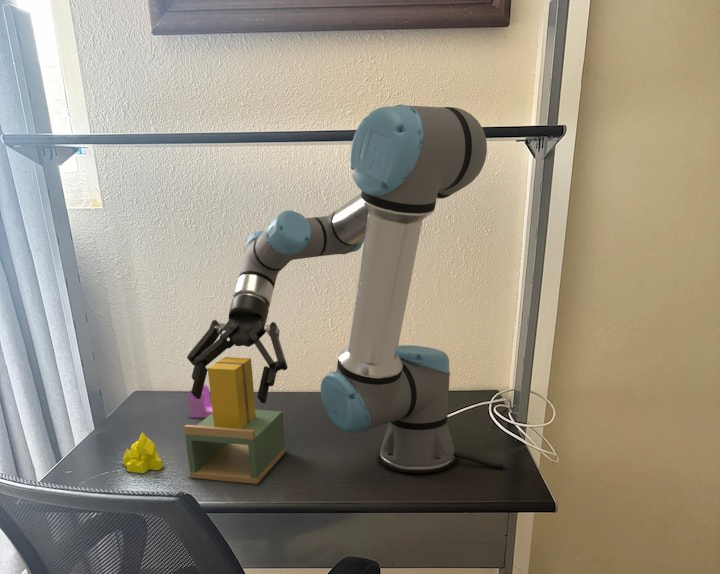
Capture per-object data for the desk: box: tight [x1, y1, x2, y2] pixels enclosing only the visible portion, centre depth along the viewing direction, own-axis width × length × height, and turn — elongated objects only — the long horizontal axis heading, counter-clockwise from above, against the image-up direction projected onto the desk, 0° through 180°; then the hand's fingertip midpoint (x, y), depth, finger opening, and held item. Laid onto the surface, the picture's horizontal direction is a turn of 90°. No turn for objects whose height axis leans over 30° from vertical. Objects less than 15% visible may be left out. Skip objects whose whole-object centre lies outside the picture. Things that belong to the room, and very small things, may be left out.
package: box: [207, 356, 256, 429], centre depth 137 cm, size 6×8×12 cm
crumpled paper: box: [122, 431, 164, 474], centre depth 141 cm, size 6×8×8 cm
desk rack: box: [183, 409, 286, 485], centre depth 141 cm, size 14×16×11 cm
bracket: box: [187, 383, 213, 419], centre depth 170 cm, size 13×6×7 cm, turn 87°
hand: (228, 398), depth 134 cm, fingers open, 13 cm apart
